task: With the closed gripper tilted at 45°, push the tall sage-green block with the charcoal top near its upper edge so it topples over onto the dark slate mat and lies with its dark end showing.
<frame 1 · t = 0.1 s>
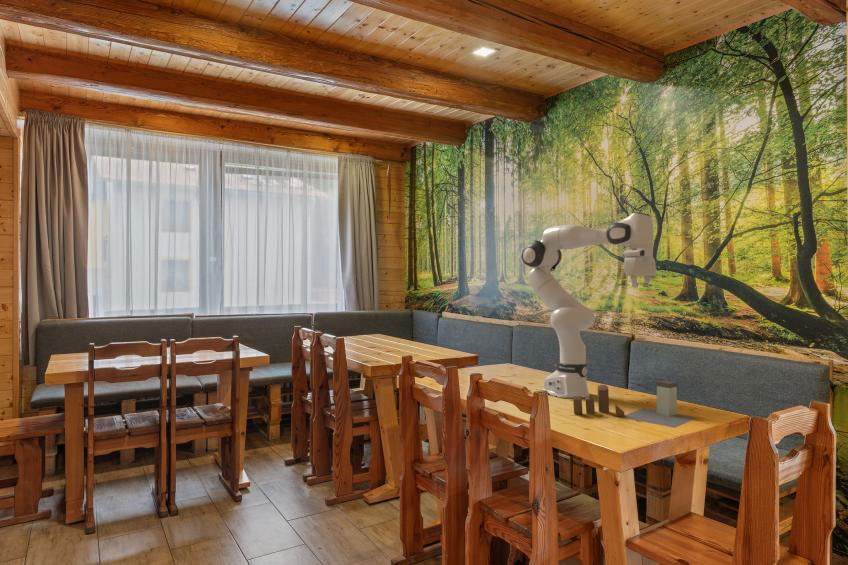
hand: (640, 287, 221), 48 cm above the table, tool pointing down, fingers open, 8 cm apart
slate mat: (658, 418, 203), on the table
wooden block set: (598, 414, 209), on the table, touching slate mat
sage block: (666, 413, 208), point 1 cm above the table, touching slate mat
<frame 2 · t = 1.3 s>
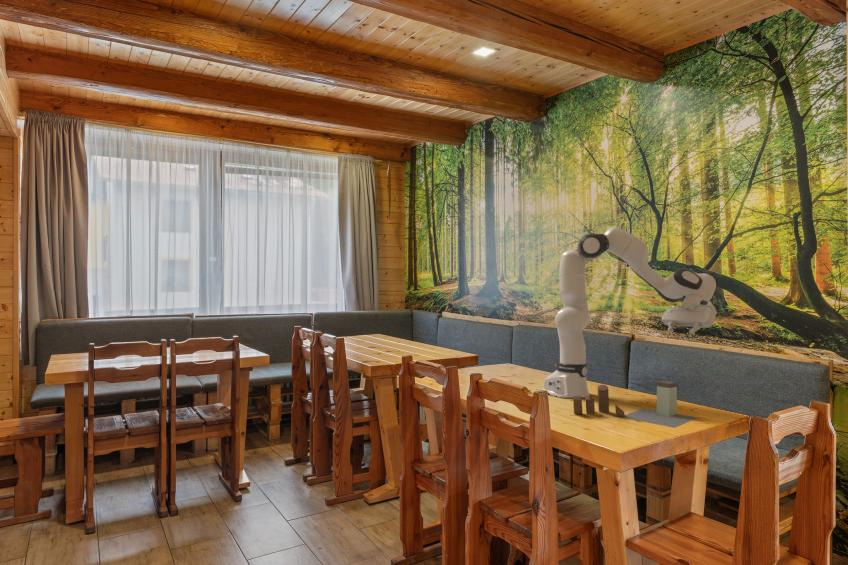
hand: (680, 332, 221), 30 cm above the table, tool tilted 45°, fingers open, 8 cm apart
nothing on the table moved.
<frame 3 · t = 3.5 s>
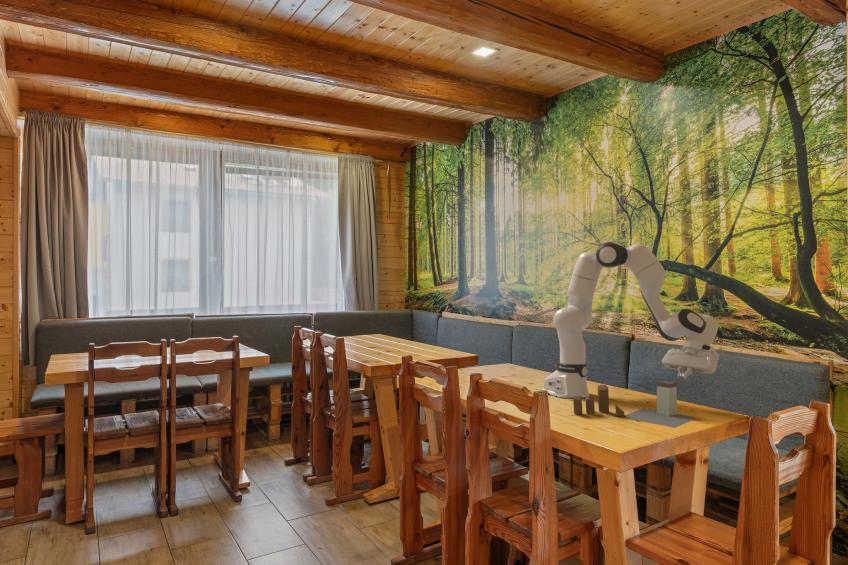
hand: (681, 377, 213), 13 cm above the table, tool tilted 45°, fingers closed
nothing on the table moved.
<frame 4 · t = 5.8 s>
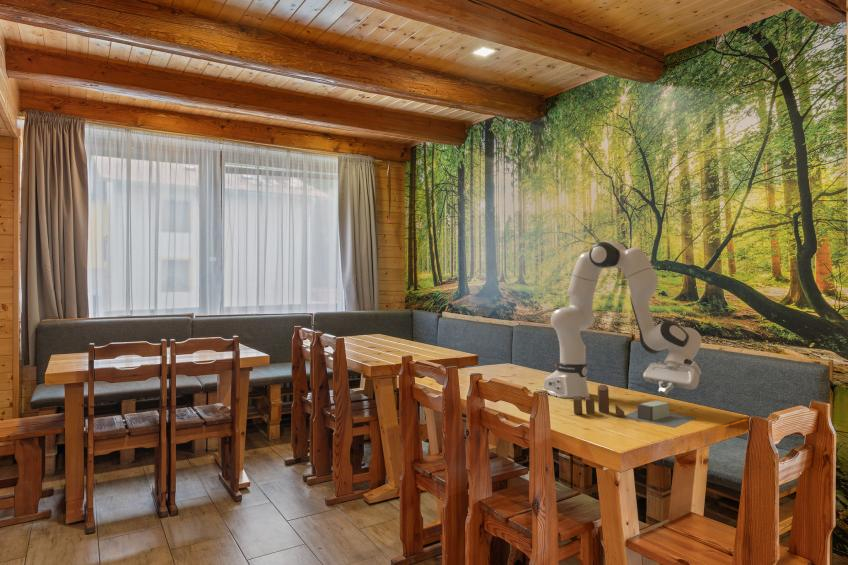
hand: (662, 393, 206), 9 cm above the table, tool tilted 45°, fingers closed
sage block: (662, 408, 206), point 3 cm above the table, tilted 90°, touching slate mat
everything else where it was.
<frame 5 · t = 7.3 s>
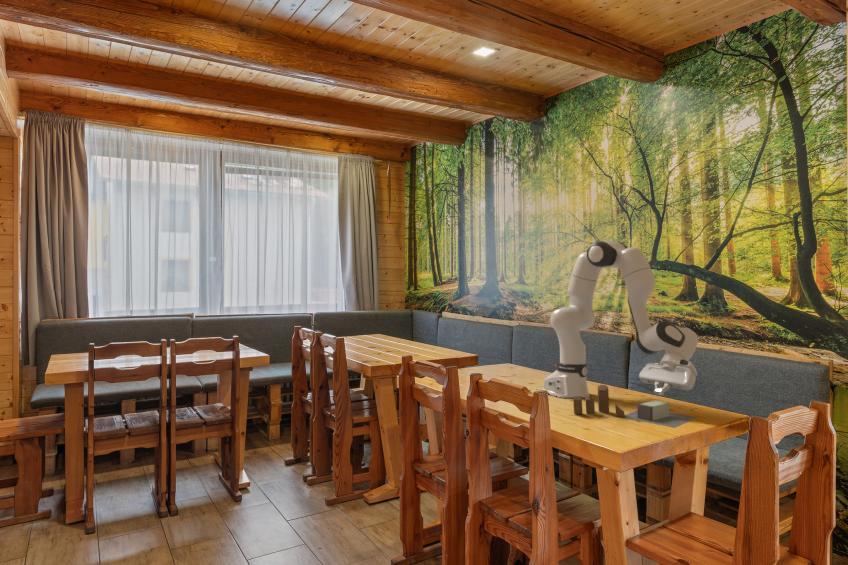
hand: (658, 393, 205), 9 cm above the table, tool tilted 45°, fingers closed
nothing on the table moved.
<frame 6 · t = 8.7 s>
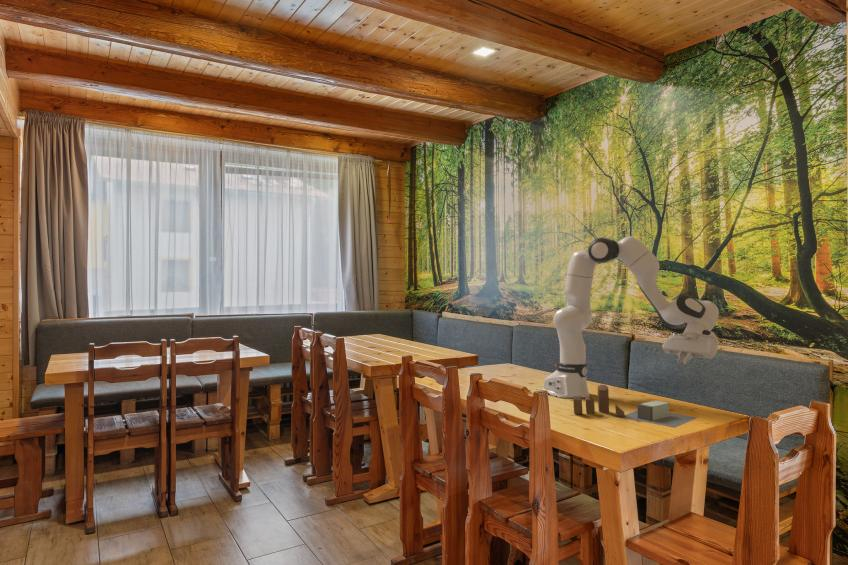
hand: (681, 362, 213), 19 cm above the table, tool tilted 45°, fingers closed
nothing on the table moved.
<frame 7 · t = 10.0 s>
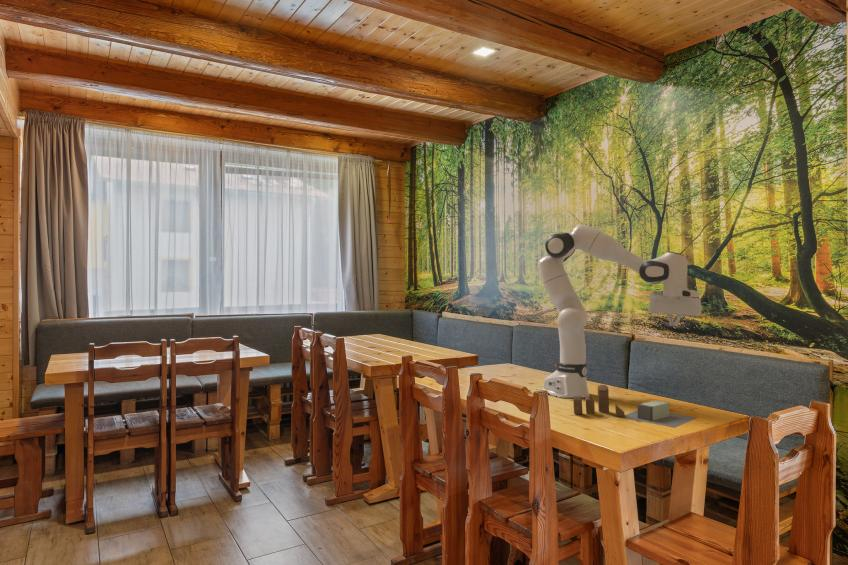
hand: (673, 325, 225), 32 cm above the table, tool pointing down, fingers closed
nothing on the table moved.
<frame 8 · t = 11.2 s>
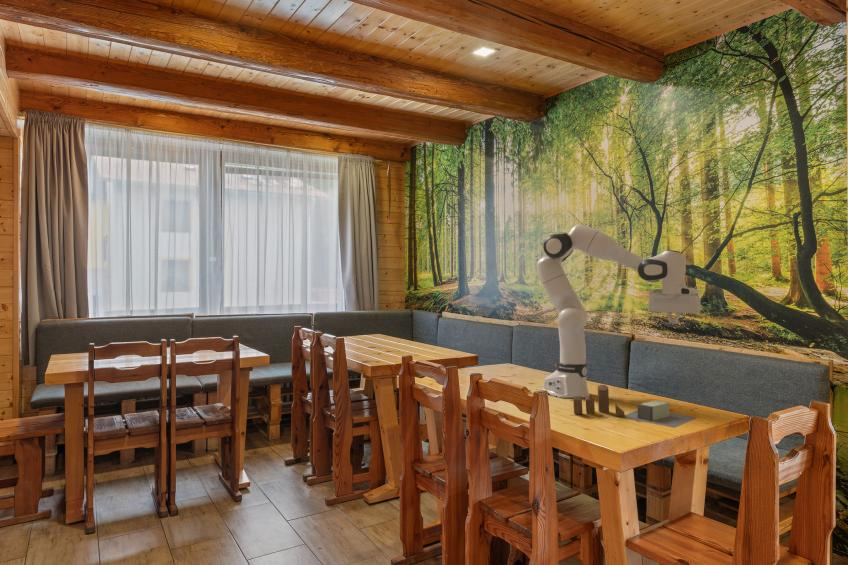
hand: (673, 323, 226), 33 cm above the table, tool pointing down, fingers closed
nothing on the table moved.
at the end: sage block tilted 90°; sage block inside the target area (4.5 cm from its centre), point 3.1 cm above the table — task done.
